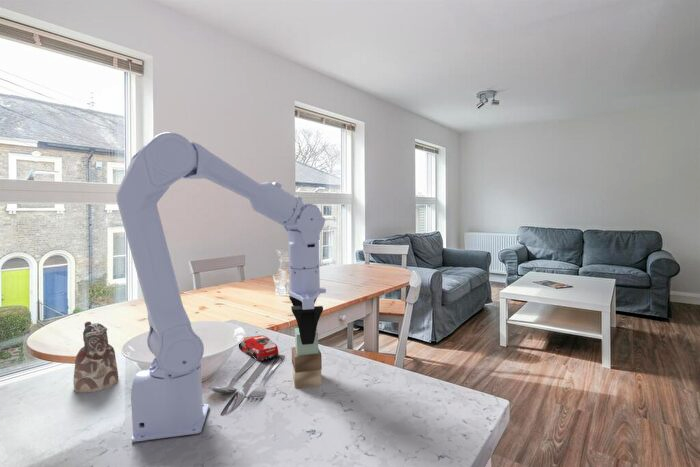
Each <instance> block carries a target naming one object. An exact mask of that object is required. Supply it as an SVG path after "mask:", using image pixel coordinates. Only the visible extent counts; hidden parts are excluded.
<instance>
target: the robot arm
mask: <svg viewBox="0 0 700 467" xmlns="http://www.w3.org/2000/svg"><path fill="white" fill-rule="evenodd" d="M182 178H183V179H184V180H186V179H187V180H189V179H191V180H193V179H195V180H196V179H200V180H201V179H205V180H208V181H210V182H212V183H214V184H216V185H219V186H221V187H222V188H225V189H226V190H229V191H230V192H233V193H235V194H237V195H239V196H241V197H243V198H245V199H247V200H248V201H249V203H250V207H251V208H252V210H253V211H255V212H256V213H258V214H260V215H262V216H264V217H266V218H268V219H270V220H272V221H273V222H276V223H277V224H278V225H279V224H280V225H281V226H282V227H283V229H284V231H286V232H287V233H288V236H287V237H288V271H289V272H288V273H289V277H288V278H289V290H288V298H289V301H290V302H291V304H292V305H291V308H290V309H291V313H292V314H293V316H294V318H295V319H296V323H297V328H299V333H300V338H301V342H302V345H307V344H313V343H314V340H315V335H316V330H317V329H318V322H319V321H320V317H321V315H322V313H323V312H324V307H323V305H315V304H316V302H317V299H318V297H319V296H320V295H321V294H326V293H327V289H326V287H321V286H320V285H321V284H320V282H321V280H320V241H321V238H320V235H321V231H322V230H323V229H324V226H325V222H326V218H325V217H323V214H322V211H321V209H320V208H319V207H318V206H317V205H315V204H314V203H304V202H303V198H302V197H301V196H299V195H293V194H291V193H289V192H288V191H286V190H284V189H283V188H282V187H283V185H282V184H281V183H279V182H278V181H273V182H271V181H265V182H264V181H263V182H261V183H259V182H257V181H256V180H254V179H253V178H251V177H250V176H248V175H247V174H245V173H244V172H242V171H240V170H239V169H237V168H236V167H234V166H233V165H232V164H230V163H228V162H226V161H225V160H223V159H221V158H220V157H218V156H217V155H216V154H215V153H213V152H211V151H210V150H209V149H207V148H205V147H204V146H203V145H201V144H200V143H198V142H197V143H196V142H194V141H192V142H191V141H190V140H189V139H187V138H186V137H185V136H183V135H182V134H179V133H176V132H162V133H159V134H157V135H155V136H154V137H153V138H152V139H151V140H150V141H149V142H148V143H146V145H144V146H143V147H141V149H139V150H138V151H137V152H136V153H135V154H134V155H133V156H132V157H131V159H130V162H129V165H128V167H127V168H126V171H125V173H124V176H123V178H122V180H121V182H120V185H119V187H118V189H117V192H116V202H117V207H118V210H119V214H120V217H121V220H122V225H123V228H124V232H125V235H126V239H127V244H128V245H129V250H130V253H131V256H132V261H133V264H134V267H135V271H136V274H137V277H138V282H139V286H140V289H141V292H142V296H143V301H144V303H145V306H146V310H147V311H146V312H147V322H148V324H149V332H148V336H147V340H146V342H147V347H148V350H149V351H150V352H151V353H152V354H153V355H154V358H153V360H152V362H151V364H150V366H149V368H147V369H142V370H138V372H136V374H135V375H134V378H133V381H132V385H131V391H130V392H131V394H130V395H131V396H130V404H131V406H130V407H131V421H132V422H131V423H132V436H131V439H130V440H131V442H133V443H134V442H143V441H150V440H151V441H152V440H159V439H166V438H173V437H182V436H189V435H197V434H200V433H201V432H202V430H203V426H204V424H205V420H206V417H207V414H208V412H209V408H210V404H209V403H203V390H202V389H203V387H202V386H203V385H202V384H203V382H202V362H201V361H202V359H203V356H204V351H205V346H204V343H203V340H202V339H201V337H200V336H199V335H197V333H196V332H195V331H194V330H193V327H192V324H191V321H190V319H189V316H188V314H187V311H186V310H185V307H184V305H183V301H182V298H181V294H180V290H179V286H178V282H177V278H176V275H175V270H174V267H173V263H172V259H171V255H170V252H169V247H168V243H167V240H166V236H165V233H164V232H165V231H164V228H163V224H162V220H161V217H160V212H159V209H158V202H159V201H160V200H161V198H163V196H164V195H165V193H166V192H167V191H168V190H169V189H170V187H171V186H172V185H174V184H175V183H176V182H178V181H179V180H181V179H182Z"/></svg>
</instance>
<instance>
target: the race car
mask: <svg viewBox="0 0 700 467" xmlns="http://www.w3.org/2000/svg"><path fill="white" fill-rule="evenodd" d="M243 338H244V340H243V341H242V342H241V343H240V344H239V345H238V349H239V350H240V351H241V350H242V351H243V353H246V354H247V355H249V356H250V357H251V356H254V357H255V358H256V359H257V360H256V361H265V360H264V359H266V358H270V357H273V358H275V357H274V356H276V355H278V356H279V348H278V345H277V344H276V343H274V342H273V340H271V339H270V338H269V337H267V336H265V335H262V334H261V335H257V336H256V335H255V336H254V335H251V336H245V337H243ZM254 357H253V358H254ZM270 359H271V358H270ZM266 360H267V359H266Z"/></svg>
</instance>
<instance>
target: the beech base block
mask: <svg viewBox="0 0 700 467" xmlns="http://www.w3.org/2000/svg"><path fill="white" fill-rule="evenodd" d="M292 377H293V383H294V384H293V385H294V388H305V387H314V386H321V385H322V369H320V370H313V371H305V372H298V373H295V370H294V367H293V366H292Z"/></svg>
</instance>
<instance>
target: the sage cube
mask: <svg viewBox="0 0 700 467" xmlns="http://www.w3.org/2000/svg"><path fill="white" fill-rule="evenodd" d="M294 344H295V345H294V347H295V349H296V353H297V356H300V355H309V354H318V349H319V332H318V330H317V329H316V335H315V340H314V343H313V344H307V345H302V342H301V338H300V333H299V328H298V327H295V328H294Z"/></svg>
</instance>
